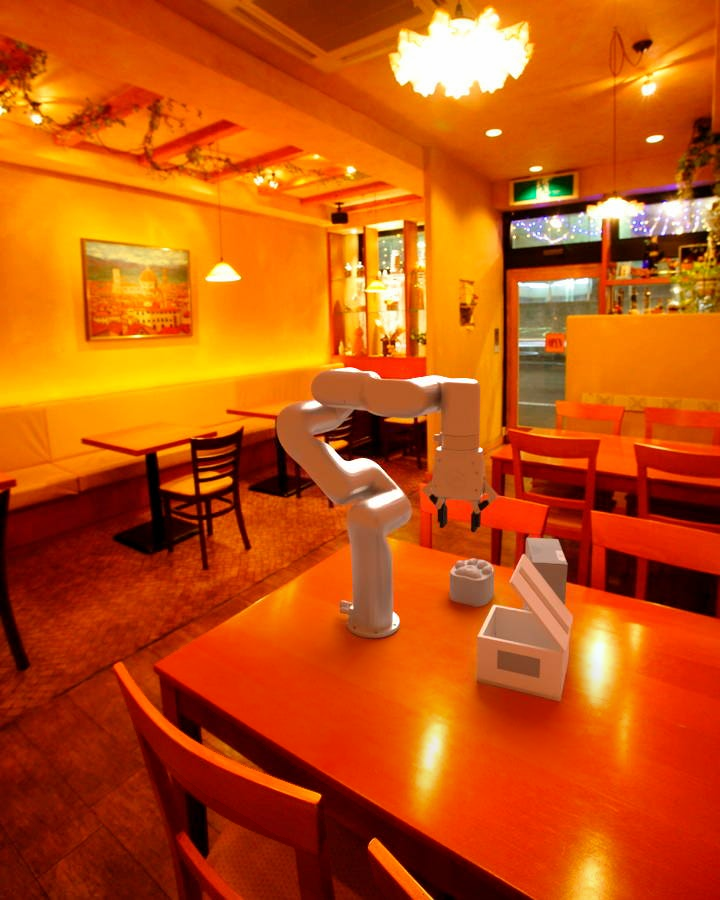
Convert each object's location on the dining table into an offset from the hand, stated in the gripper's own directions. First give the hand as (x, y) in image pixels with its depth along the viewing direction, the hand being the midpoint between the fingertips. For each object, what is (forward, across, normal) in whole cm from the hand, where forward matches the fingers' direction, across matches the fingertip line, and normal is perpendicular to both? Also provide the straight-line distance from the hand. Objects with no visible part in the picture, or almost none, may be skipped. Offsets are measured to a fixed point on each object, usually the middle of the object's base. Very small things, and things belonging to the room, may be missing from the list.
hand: (458, 527), depth 117 cm
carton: (+30, +14, 0) cm, 33 cm away
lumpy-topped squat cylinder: (+30, -4, +30) cm, 42 cm away
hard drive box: (+30, +15, +18) cm, 38 cm away
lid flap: (+13, +17, 0) cm, 21 cm away
